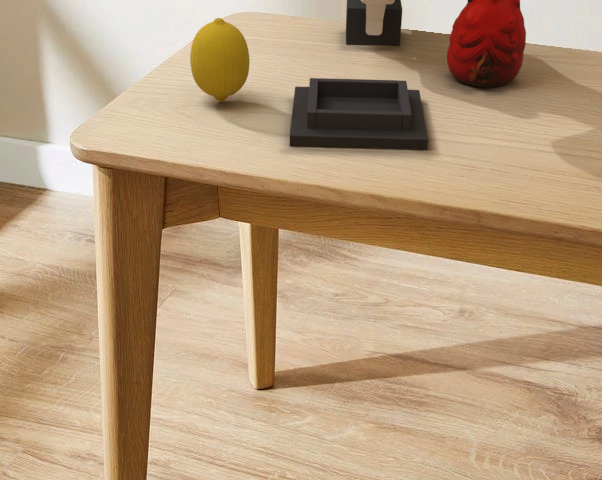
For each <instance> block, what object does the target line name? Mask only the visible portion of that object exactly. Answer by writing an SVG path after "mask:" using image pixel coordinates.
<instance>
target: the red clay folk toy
mask: <svg viewBox="0 0 602 480" xmlns="http://www.w3.org/2000/svg"><path fill="white" fill-rule="evenodd" d="M526 41H527V30H526V26H525V18H524V15H523V12H522V10H521V0H467V3H466V5H465V6H464V7H463V8H462V9H461V11H460V13H459V14H458V16H457V17H456V18H455V19H454V22H453V24H452V30H451V31H450V34H449V45H448V47H447V51H446V63H447V67H448V68H447V69H448V70H449V72H450V74H451V75H452V76H453V77H454V78H455V79H456V80H457V81H459V82H461V83H462V84H466V85H469V86H473V87H480V88H490V87H491V88H498V87H501V86H505V85H507V84H509V83H513V82H514V80H515V79H516V77H517V76H518V74H519V73H520V70H521V68H522V67H523V63H524V52H525V48H526V45H527V42H526Z"/></svg>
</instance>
